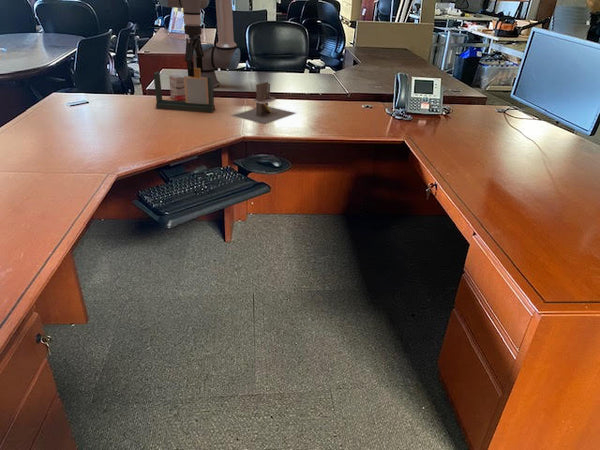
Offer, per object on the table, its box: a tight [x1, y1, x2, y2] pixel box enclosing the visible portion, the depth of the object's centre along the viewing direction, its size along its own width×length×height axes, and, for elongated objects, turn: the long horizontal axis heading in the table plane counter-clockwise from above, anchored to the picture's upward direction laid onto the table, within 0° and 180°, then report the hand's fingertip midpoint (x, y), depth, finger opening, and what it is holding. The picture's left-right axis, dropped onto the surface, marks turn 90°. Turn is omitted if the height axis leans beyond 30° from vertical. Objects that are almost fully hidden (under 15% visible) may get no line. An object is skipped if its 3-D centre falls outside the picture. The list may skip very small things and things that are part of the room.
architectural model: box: [232, 81, 296, 125], centre depth 214 cm, size 20×25×15 cm
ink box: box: [168, 74, 186, 101], centre depth 233 cm, size 8×5×12 cm, turn 39°
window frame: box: [152, 71, 216, 114], centre depth 215 cm, size 6×28×16 cm, turn 84°
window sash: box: [183, 68, 209, 104], centre depth 213 cm, size 3×12×17 cm, turn 84°
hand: (195, 73), depth 210 cm, fingers open, 13 cm apart
